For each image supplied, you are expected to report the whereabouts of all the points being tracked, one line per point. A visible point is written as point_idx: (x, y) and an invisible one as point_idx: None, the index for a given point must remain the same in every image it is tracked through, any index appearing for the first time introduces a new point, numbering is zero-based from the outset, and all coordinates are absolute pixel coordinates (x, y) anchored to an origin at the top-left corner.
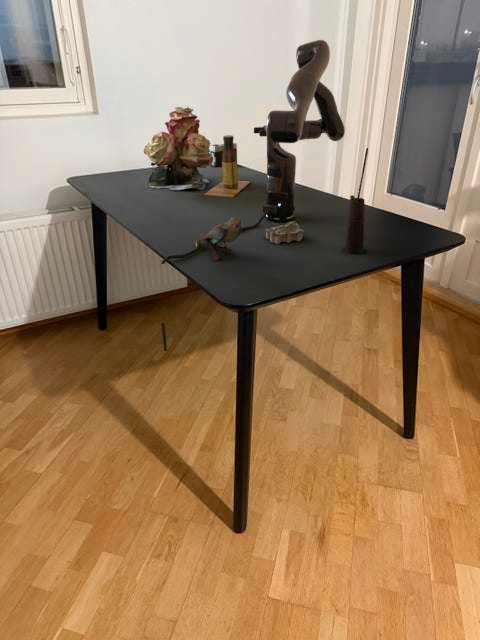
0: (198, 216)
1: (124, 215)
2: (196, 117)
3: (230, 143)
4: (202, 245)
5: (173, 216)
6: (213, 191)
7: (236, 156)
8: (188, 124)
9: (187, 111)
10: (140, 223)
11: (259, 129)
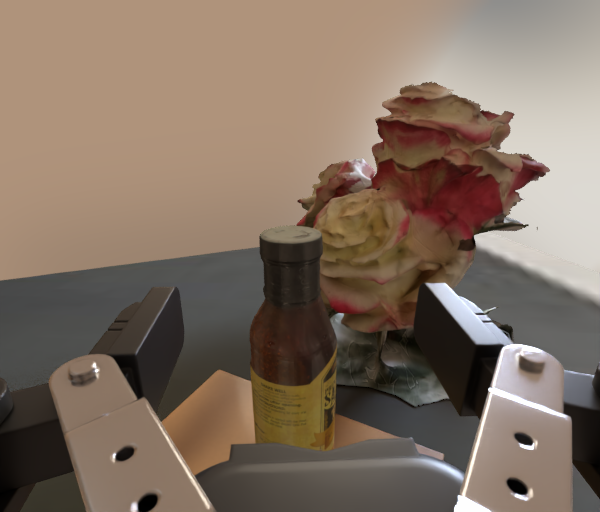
0: (19, 346)
1: (146, 266)
2: (452, 133)
3: (264, 272)
4: None
5: (71, 312)
6: (241, 395)
7: (273, 360)
8: (391, 152)
9: (403, 99)
10: (78, 279)
11: (445, 337)
